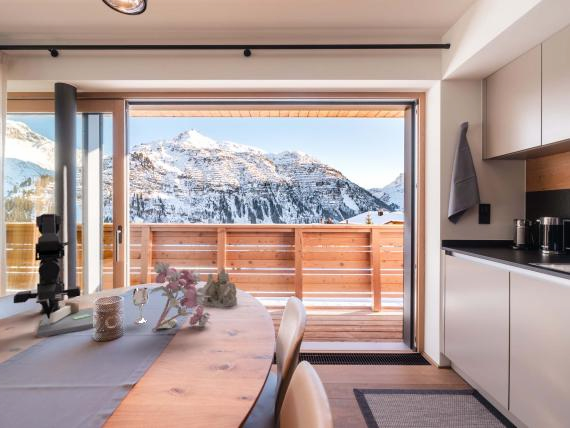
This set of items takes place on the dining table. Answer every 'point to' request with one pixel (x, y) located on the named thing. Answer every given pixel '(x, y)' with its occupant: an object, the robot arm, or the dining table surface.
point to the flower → (188, 301)
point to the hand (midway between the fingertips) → (48, 318)
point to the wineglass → (140, 301)
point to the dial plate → (67, 323)
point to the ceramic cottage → (220, 291)
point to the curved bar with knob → (65, 311)
